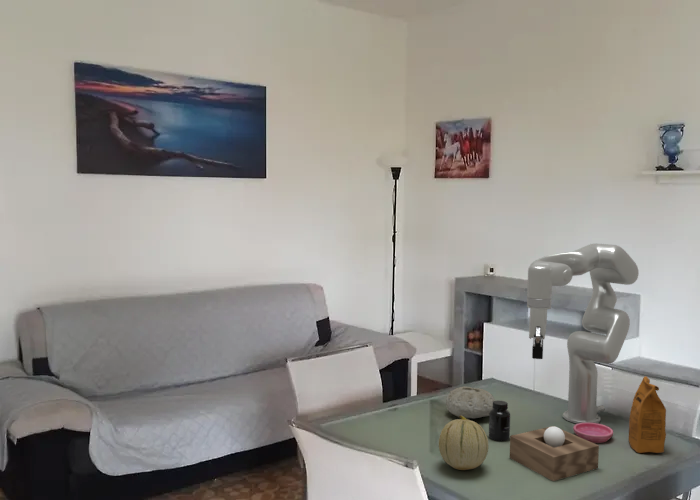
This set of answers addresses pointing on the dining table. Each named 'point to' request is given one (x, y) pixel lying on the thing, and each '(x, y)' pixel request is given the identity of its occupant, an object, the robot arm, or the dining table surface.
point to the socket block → (554, 454)
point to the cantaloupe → (463, 444)
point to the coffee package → (647, 420)
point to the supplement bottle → (499, 421)
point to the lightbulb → (554, 437)
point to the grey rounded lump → (469, 402)
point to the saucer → (593, 432)
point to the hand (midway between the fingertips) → (537, 354)
